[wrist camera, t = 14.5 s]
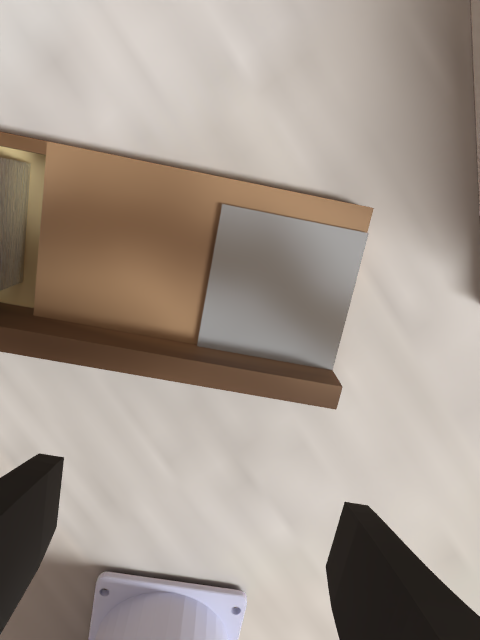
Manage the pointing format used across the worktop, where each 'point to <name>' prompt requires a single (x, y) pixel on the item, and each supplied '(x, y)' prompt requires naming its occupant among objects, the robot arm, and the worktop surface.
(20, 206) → the metal cube with knob
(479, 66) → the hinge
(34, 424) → the worktop surface
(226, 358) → the rail
